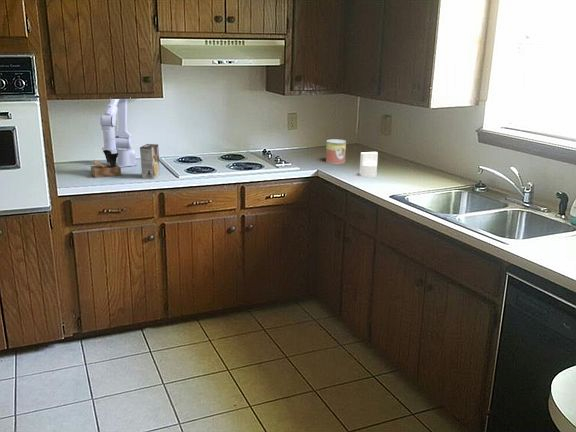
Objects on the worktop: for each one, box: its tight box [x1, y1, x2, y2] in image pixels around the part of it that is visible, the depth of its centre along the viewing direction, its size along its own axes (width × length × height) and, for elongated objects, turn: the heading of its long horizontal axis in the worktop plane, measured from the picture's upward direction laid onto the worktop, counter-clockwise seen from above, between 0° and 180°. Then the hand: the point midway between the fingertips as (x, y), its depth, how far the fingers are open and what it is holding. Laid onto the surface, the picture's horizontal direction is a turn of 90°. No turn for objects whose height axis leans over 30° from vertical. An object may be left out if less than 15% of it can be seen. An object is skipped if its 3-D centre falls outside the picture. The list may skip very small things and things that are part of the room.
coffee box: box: [139, 143, 161, 180], centre depth 301 cm, size 9×6×16 cm
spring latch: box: [93, 159, 105, 167], centre depth 303 cm, size 5×4×1 cm
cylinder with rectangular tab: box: [359, 151, 379, 178], centre depth 313 cm, size 9×9×12 cm
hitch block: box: [90, 164, 122, 179], centre depth 306 cm, size 13×10×4 cm
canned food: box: [325, 138, 347, 165], centre depth 343 cm, size 11×11×12 cm
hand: (111, 165), depth 307 cm, fingers open, 7 cm apart
